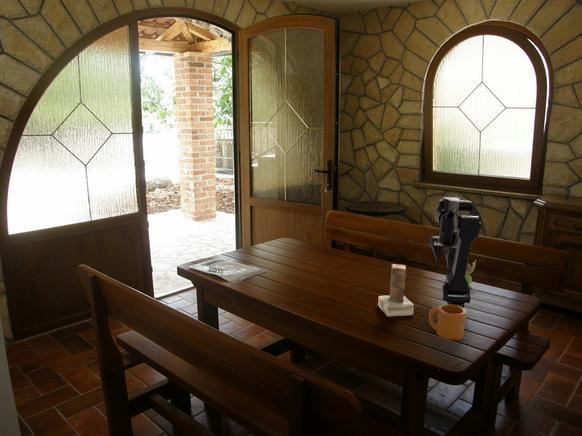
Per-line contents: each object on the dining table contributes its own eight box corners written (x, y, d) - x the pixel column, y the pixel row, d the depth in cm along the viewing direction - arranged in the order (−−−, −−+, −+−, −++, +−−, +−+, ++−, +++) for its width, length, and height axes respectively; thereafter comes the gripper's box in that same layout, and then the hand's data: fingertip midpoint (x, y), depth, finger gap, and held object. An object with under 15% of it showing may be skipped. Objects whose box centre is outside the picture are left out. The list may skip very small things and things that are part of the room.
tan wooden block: (402, 298, 181) (405, 264, 178) (403, 303, 176) (406, 269, 173) (389, 296, 182) (391, 263, 179) (389, 301, 177) (392, 267, 174)
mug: (436, 323, 170) (439, 299, 168) (468, 334, 161) (471, 309, 159) (422, 330, 164) (425, 305, 162) (455, 342, 155) (457, 316, 153)
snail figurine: (474, 288, 205) (477, 261, 203) (458, 286, 207) (461, 260, 204) (472, 284, 211) (475, 258, 208) (457, 282, 212) (459, 256, 209)
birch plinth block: (413, 315, 176) (414, 304, 175) (387, 316, 174) (388, 305, 173) (402, 304, 186) (403, 294, 185) (377, 305, 184) (378, 295, 183)
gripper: (478, 233, 182) (474, 272, 186) (454, 222, 200) (450, 258, 204) (452, 234, 180) (448, 273, 184) (429, 223, 198) (426, 258, 202)
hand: (443, 265), depth 193 cm, fingers open, 9 cm apart
